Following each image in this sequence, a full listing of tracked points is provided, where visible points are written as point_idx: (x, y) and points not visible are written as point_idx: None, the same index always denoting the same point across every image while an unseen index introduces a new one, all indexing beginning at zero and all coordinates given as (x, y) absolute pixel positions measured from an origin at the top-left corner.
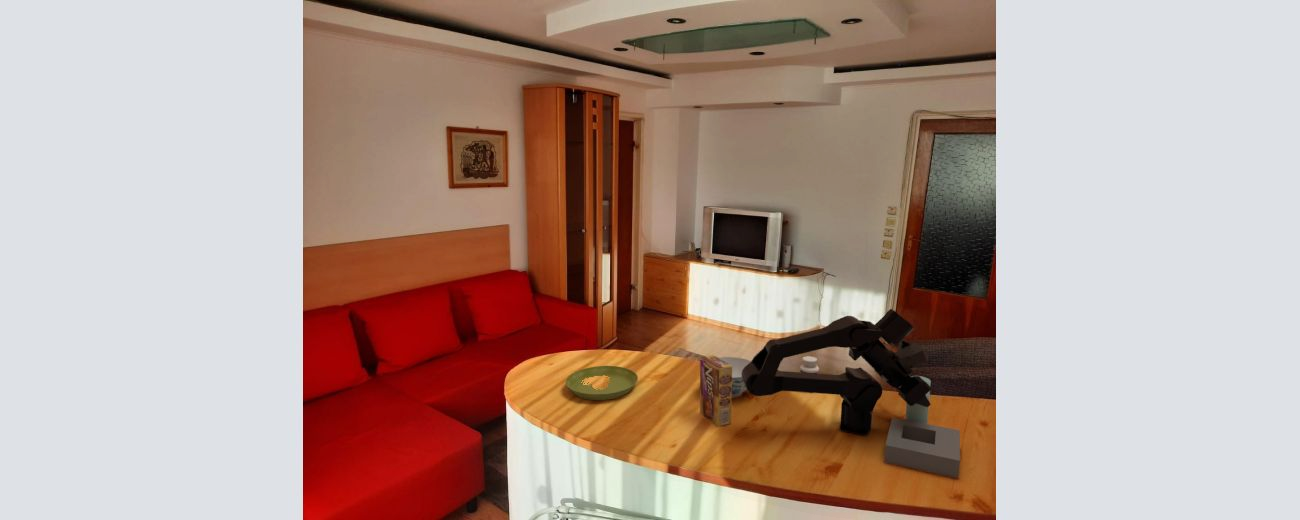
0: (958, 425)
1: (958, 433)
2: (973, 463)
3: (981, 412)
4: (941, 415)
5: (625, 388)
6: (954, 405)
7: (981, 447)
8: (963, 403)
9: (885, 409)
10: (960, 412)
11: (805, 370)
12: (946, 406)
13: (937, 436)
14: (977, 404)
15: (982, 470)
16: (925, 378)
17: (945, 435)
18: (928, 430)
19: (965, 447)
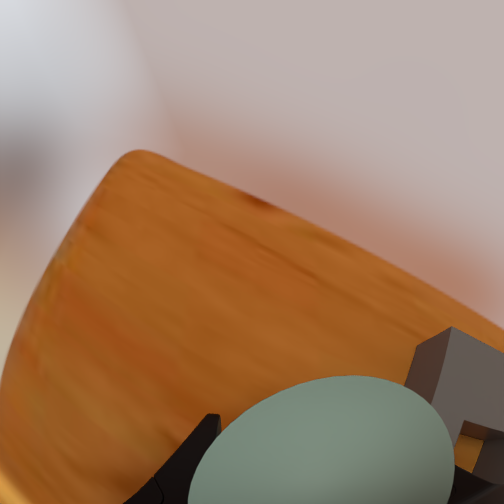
0: (270, 274)
1: (471, 341)
2: (483, 338)
3: (190, 173)
4: (186, 292)
5: None
6: (131, 216)
7: (410, 278)
8: (129, 189)
9: (114, 475)
10: (177, 222)
11: None
12: (129, 241)
13: (492, 421)
14: (146, 163)
15: (501, 330)
16: (299, 417)
17: (486, 392)
18: (452, 445)
19: (417, 324)
